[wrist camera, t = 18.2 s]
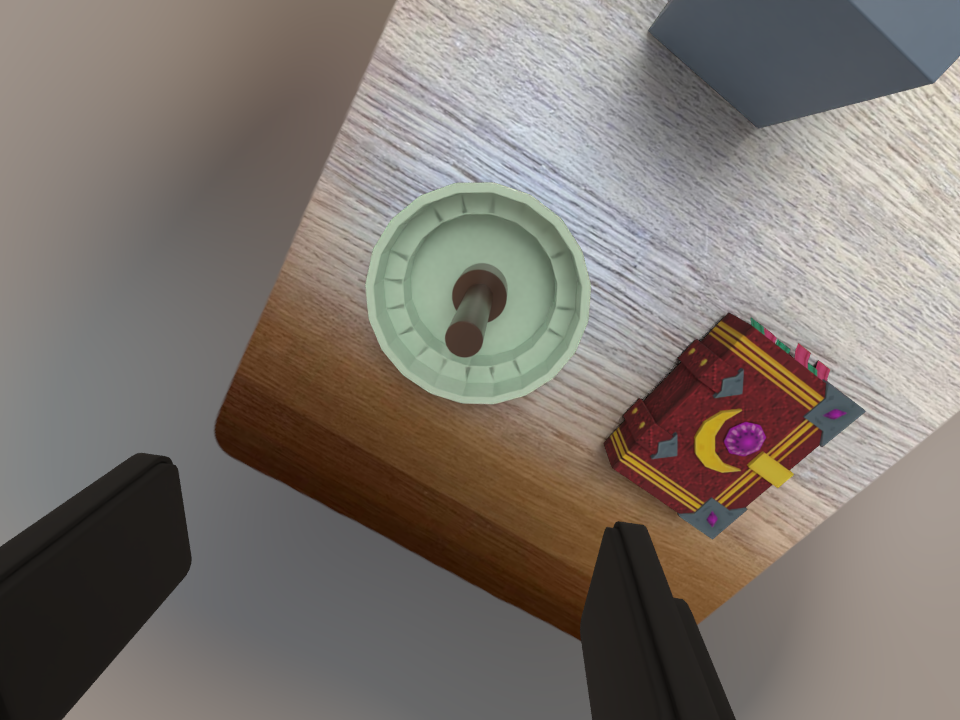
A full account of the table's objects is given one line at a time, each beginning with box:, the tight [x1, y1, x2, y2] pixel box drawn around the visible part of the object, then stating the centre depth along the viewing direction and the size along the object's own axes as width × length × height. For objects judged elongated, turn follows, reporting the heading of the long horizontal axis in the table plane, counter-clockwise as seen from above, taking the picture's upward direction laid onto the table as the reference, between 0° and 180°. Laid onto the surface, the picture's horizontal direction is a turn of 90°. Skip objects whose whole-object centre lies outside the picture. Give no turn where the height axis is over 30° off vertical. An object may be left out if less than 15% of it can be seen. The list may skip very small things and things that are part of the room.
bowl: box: [365, 182, 591, 404], centre depth 33 cm, size 15×15×6 cm
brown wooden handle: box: [445, 263, 508, 358], centre depth 29 cm, size 4×4×13 cm
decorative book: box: [604, 313, 866, 539], centre depth 36 cm, size 11×16×5 cm
